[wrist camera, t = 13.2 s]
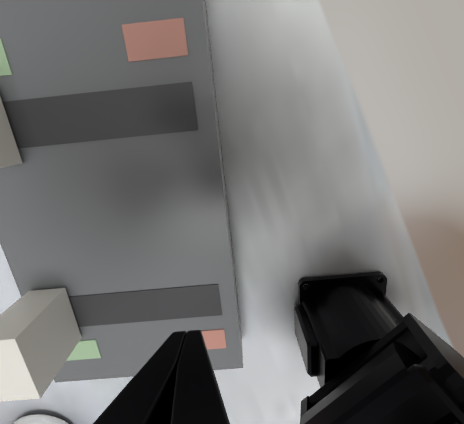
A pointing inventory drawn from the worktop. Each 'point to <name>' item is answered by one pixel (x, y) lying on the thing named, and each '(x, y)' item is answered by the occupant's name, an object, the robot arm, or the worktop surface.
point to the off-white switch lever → (7, 142)
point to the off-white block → (35, 342)
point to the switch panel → (118, 177)
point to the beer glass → (39, 419)
